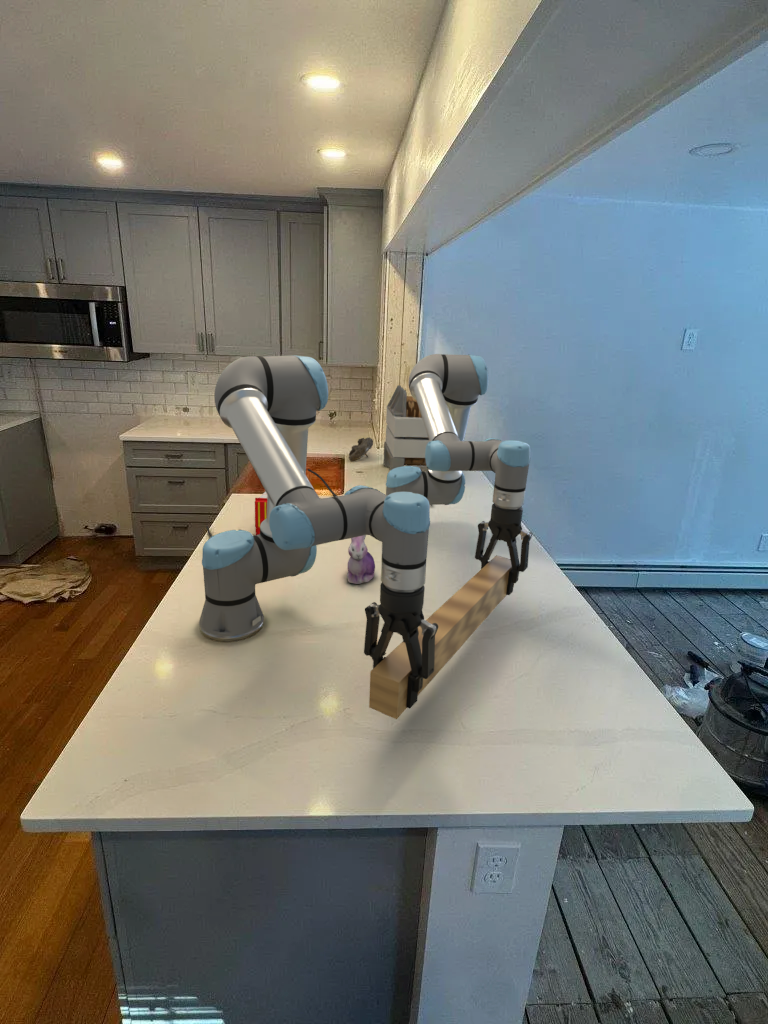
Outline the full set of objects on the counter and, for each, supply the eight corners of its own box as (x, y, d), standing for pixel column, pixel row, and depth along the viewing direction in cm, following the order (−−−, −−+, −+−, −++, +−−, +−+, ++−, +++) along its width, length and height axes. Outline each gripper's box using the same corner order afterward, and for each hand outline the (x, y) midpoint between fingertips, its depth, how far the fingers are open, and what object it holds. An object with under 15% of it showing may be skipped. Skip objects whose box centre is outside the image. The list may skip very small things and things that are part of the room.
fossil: (348, 443, 308) (370, 428, 303) (359, 457, 311) (381, 442, 306) (342, 457, 289) (365, 441, 284) (354, 472, 292) (377, 456, 287)
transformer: (382, 463, 289) (386, 382, 275) (445, 464, 293) (451, 384, 279) (390, 482, 257) (394, 392, 243) (460, 483, 261) (468, 394, 247)
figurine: (352, 587, 160) (354, 538, 155) (338, 573, 168) (339, 526, 163) (382, 582, 164) (384, 534, 159) (367, 567, 172) (369, 521, 167)
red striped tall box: (297, 485, 216) (285, 500, 186) (296, 519, 219) (286, 539, 189) (264, 484, 215) (248, 499, 186) (265, 519, 218) (249, 538, 189)
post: (493, 581, 152) (496, 555, 149) (513, 587, 149) (517, 560, 146) (368, 707, 101) (370, 671, 99) (396, 719, 99) (399, 682, 96)
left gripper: (344, 576, 98) (342, 689, 105) (442, 608, 88) (432, 729, 96) (368, 562, 104) (365, 669, 111) (462, 590, 94) (451, 705, 102)
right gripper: (465, 500, 140) (458, 584, 148) (540, 517, 131) (527, 606, 139) (478, 493, 146) (469, 574, 154) (550, 508, 137) (537, 594, 145)
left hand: (396, 697), depth 104 cm, fingers closed on post, 6 cm apart
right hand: (497, 589), depth 146 cm, fingers closed on post, 6 cm apart
